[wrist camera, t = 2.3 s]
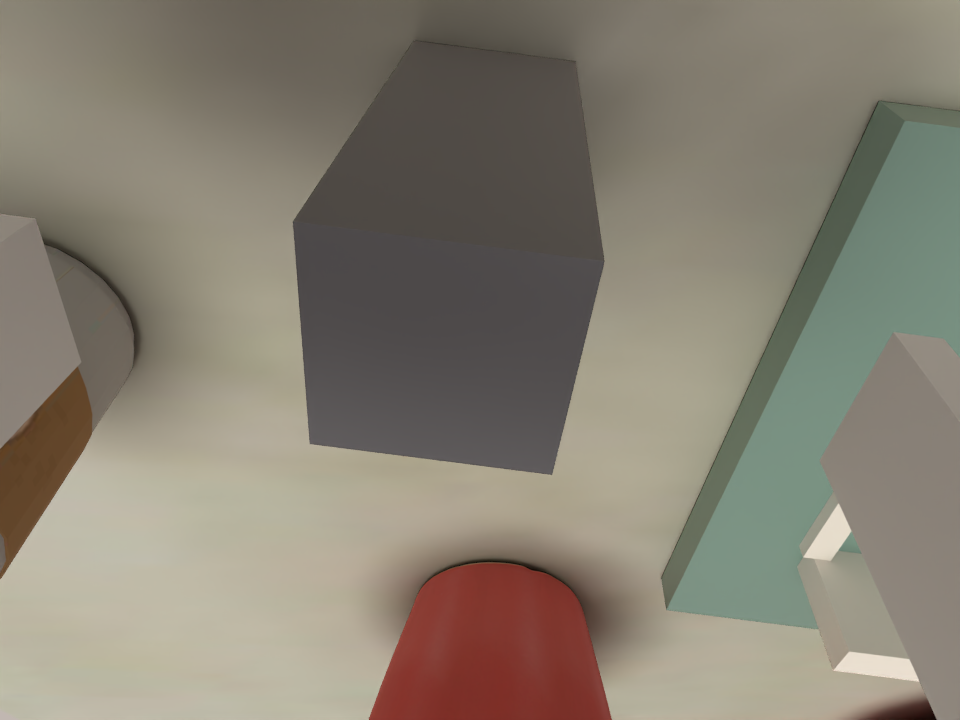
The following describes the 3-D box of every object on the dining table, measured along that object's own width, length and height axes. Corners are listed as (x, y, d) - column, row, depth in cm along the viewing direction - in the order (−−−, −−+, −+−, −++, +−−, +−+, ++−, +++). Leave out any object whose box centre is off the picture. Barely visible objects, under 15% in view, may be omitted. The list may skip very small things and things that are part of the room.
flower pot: (595, 680, 34) (610, 921, 27) (383, 655, 34) (336, 888, 27) (643, 553, 28) (680, 824, 20) (381, 524, 28) (319, 780, 20)
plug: (413, 40, 16) (293, 220, 9) (575, 61, 16) (604, 261, 9) (407, 212, 19) (312, 468, 11) (545, 230, 19) (546, 498, 11)
